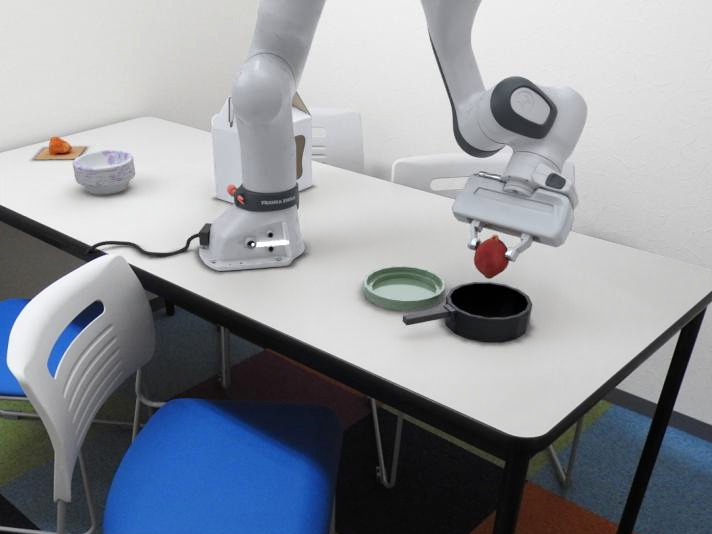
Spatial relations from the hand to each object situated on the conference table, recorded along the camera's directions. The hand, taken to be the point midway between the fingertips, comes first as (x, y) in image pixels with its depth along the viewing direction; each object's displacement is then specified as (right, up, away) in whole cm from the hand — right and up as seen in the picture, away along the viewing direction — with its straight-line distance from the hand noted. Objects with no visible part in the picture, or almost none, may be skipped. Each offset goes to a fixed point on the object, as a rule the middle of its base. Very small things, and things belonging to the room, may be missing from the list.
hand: (490, 254), depth 130 cm
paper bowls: (-80, +30, +71) cm, 111 cm away
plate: (-12, -4, +17) cm, 21 cm away
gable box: (-40, +28, +66) cm, 82 cm away
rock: (-100, +48, +97) cm, 148 cm away
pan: (-3, -12, +6) cm, 14 cm away
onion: (0, -4, +3) cm, 5 cm away
